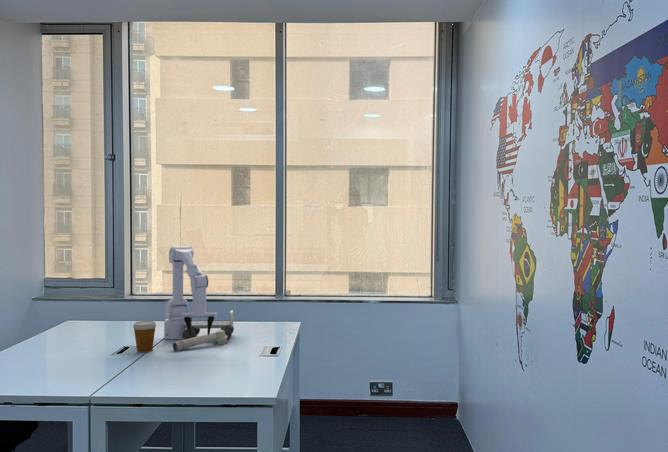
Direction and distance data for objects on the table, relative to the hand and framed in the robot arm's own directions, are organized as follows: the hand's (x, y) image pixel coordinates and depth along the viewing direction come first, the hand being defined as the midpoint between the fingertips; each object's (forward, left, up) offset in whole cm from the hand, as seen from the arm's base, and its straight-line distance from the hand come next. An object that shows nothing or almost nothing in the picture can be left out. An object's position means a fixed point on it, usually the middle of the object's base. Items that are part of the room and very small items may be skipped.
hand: (199, 334), depth 244 cm
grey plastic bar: (0, +6, -7) cm, 9 cm away
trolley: (+1, +22, -7) cm, 23 cm away
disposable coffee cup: (-23, 0, -7) cm, 24 cm away
